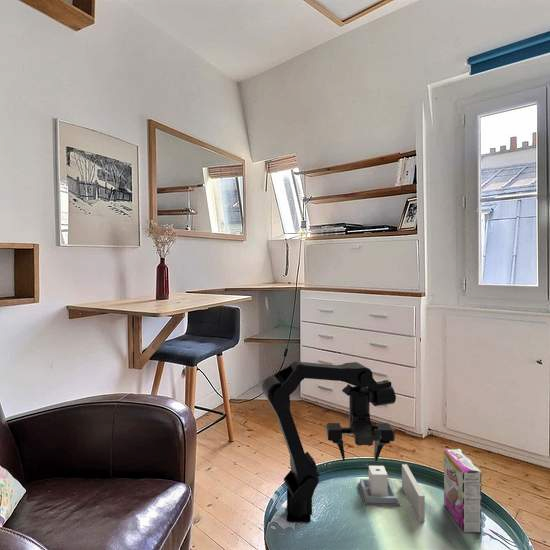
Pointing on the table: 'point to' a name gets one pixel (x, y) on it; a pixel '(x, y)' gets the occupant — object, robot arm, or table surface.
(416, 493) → the wall stub
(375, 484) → the block
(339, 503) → the table surface
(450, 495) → the candy bar box
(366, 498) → the frame
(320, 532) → the table surface
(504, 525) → the table surface
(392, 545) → the table surface
